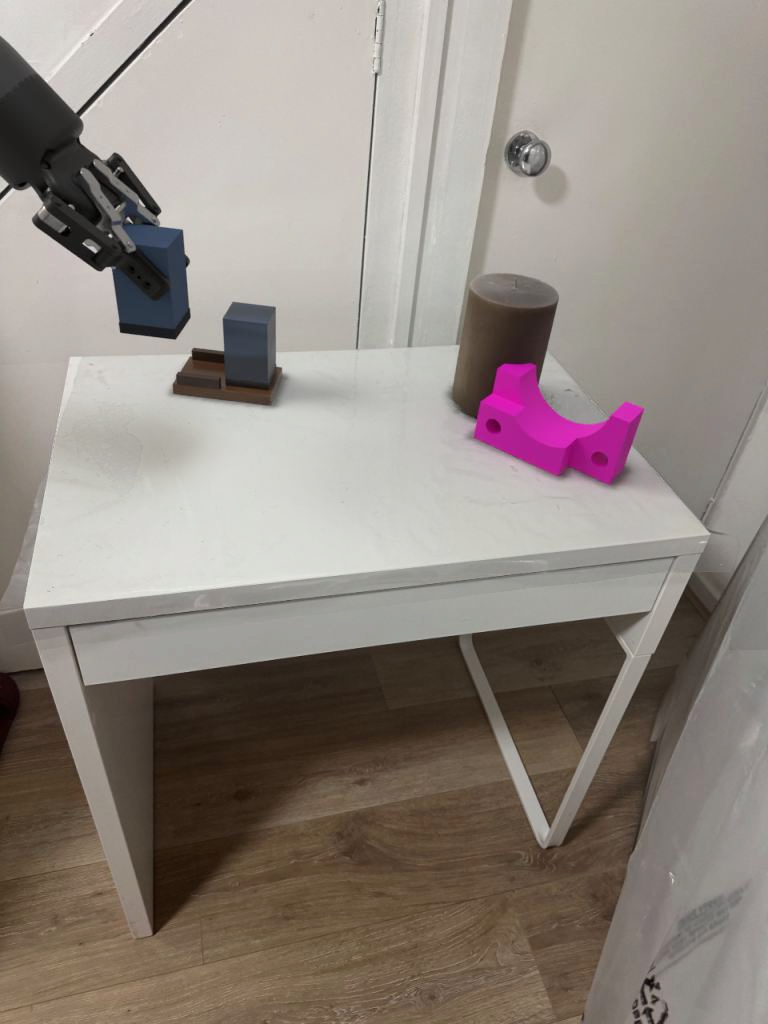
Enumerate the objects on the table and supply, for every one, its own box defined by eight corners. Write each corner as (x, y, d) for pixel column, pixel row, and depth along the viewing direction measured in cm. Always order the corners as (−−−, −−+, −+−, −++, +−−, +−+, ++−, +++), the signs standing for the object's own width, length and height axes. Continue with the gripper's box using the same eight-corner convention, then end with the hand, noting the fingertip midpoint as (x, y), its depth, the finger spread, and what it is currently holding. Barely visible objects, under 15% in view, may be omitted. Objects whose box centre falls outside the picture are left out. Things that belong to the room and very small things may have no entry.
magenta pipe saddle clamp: (473, 437, 83) (485, 376, 79) (502, 415, 87) (514, 356, 83) (598, 495, 77) (619, 432, 72) (623, 469, 81) (644, 408, 76)
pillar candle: (508, 432, 84) (537, 304, 75) (435, 400, 88) (454, 275, 79) (547, 400, 91) (578, 279, 81) (477, 371, 95) (500, 252, 85)
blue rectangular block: (176, 340, 65) (167, 248, 60) (119, 333, 65) (106, 240, 60) (191, 317, 69) (184, 228, 64) (137, 311, 69) (126, 221, 64)
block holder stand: (270, 405, 85) (269, 329, 79) (173, 393, 85) (165, 316, 79) (282, 376, 90) (282, 302, 84) (190, 365, 90) (184, 290, 84)
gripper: (-22, 90, 50) (177, 289, 57) (68, 55, 61) (225, 225, 68) (-77, 166, 53) (117, 344, 61) (18, 120, 64) (172, 275, 72)
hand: (173, 280), depth 64 cm, fingers closed on blue rectangular block, 4 cm apart
